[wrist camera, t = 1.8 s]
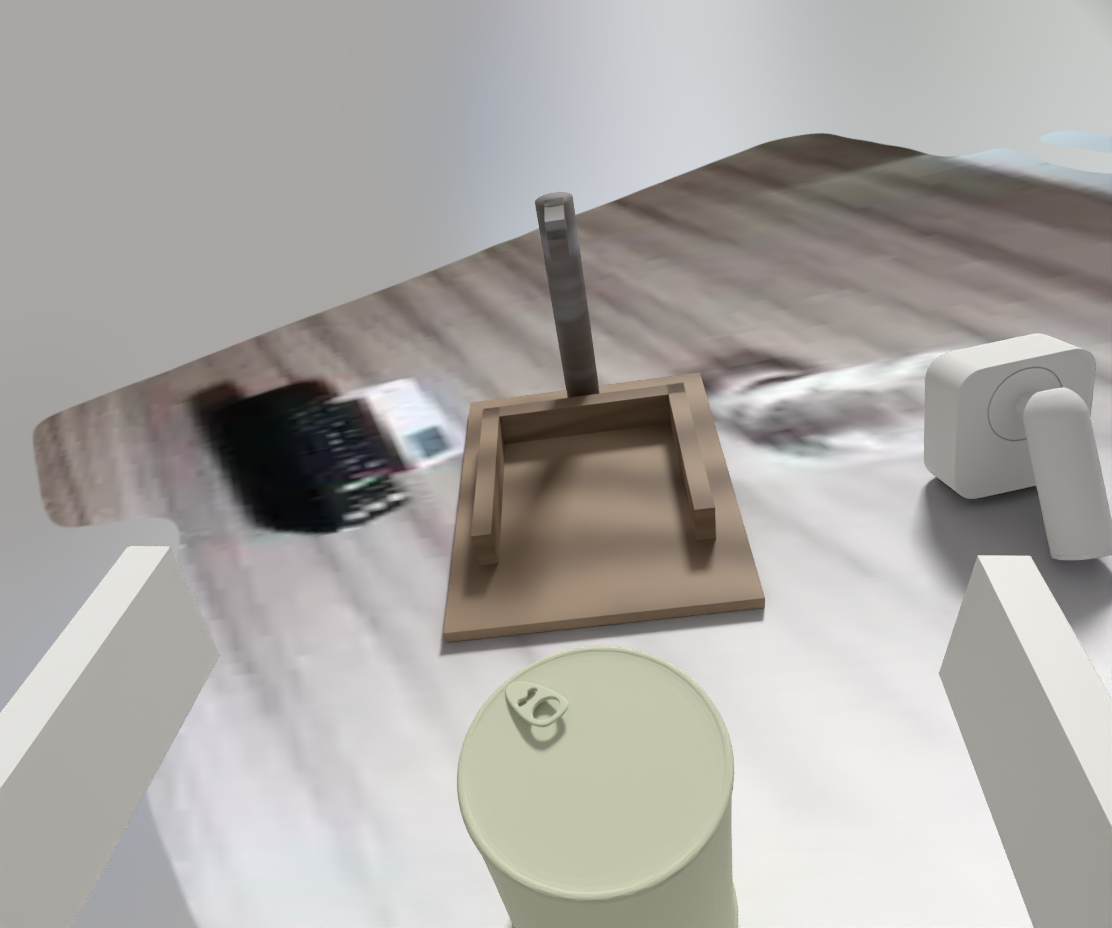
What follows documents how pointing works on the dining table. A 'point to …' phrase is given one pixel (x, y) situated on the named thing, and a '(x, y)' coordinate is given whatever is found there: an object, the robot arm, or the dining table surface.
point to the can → (602, 794)
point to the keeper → (593, 491)
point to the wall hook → (1022, 434)
